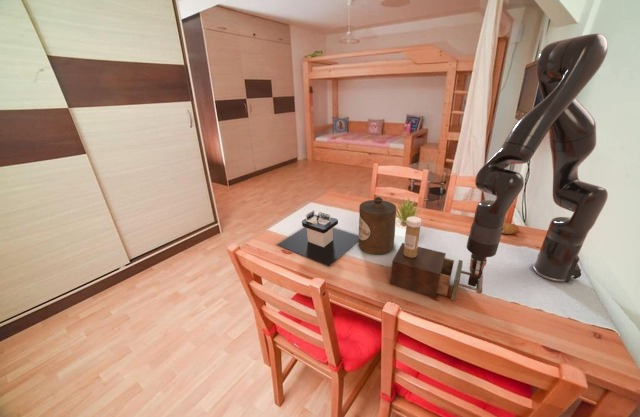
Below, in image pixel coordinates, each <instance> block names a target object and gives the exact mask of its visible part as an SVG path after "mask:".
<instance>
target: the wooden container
mask: <svg viewBox="0 0 640 417" xmlns="http://www.w3.org/2000/svg"><path fill="white" fill-rule="evenodd" d="M358 212H359V215H358V216H359V217H358V236H359V240H358V247H359V248H360V249H361V250H362V251H363V252H365V253H368V254H371V255H385V254H388V253H390V252H392V250H393V249H394V247H395V246H394V245H395V235H396V220H397V219H396V216H397V206H396V204H394V203H393V202H390V201H387V200H383V198H382V197H381V196H376V197H374V198H373V199H369V200H364V201H363V202H361V203H360V204H359V210H358Z"/></svg>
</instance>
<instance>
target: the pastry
mask: <svg viewBox="0 0 640 417" xmlns="http://www.w3.org/2000/svg"><path fill="white" fill-rule="evenodd" d="M519 229H520V228H519V226H518V225H516V224H515V223H510V222H505V221H504V223H503V227H502V235H513V234H516V233H518V232H519Z"/></svg>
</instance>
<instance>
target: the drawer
mask: <svg viewBox="0 0 640 417" xmlns="http://www.w3.org/2000/svg"><path fill="white" fill-rule="evenodd" d="M463 262H464V261H463V260H461V259H458V262H457V266H456V271H455V274H454V279H453V280H454V281H453V286H452V291H451V296H450V300H451V301H453V302H455V301H456V299H457V295H458V290H459V287H461V288H465V289H468V290H471V291H475V292H476V294H479V295H481V294H482V293H483V287H484V286H483V285H484V284H483V283H484V275H483V274H482V275H481V277H480V279H479V280H477V284H476V286H475V287H473V286H470V285H468V284H463V283H460V282H461V276H462V274H463V275H467V276H469V275H470V274H469V273H470V271H469V272H468V271H465V270H462V268H463ZM454 263H455V259H450V258H447V257H445V259H444V263H443V266H442V270H441V274H440V279H439V284H438V290H437V295H442V296H445V297H447V296H448V292H449V287H450V282H451V279H452V278H451V277H452V273H453V269H454V268H453V267H454Z"/></svg>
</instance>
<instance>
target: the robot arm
mask: <svg viewBox="0 0 640 417" xmlns="http://www.w3.org/2000/svg"><path fill="white" fill-rule="evenodd" d="M608 50H609V43H608V40H607V37H606V36H605V35H604V34H601V33H589V34H584V35H578V36H575V37H570V38H565V39H561V40H557V41H553V42H550V43H548V44H547V45H545V46H544V47H543V48H542V50H540V53H539V55H538V58H537V61H536V77H537V83H538V85H539V89H540V93H541V97H542V101H540V102H538V104H537V105H535V106H534V107H533V108H532V109H530V110H529V111H528V112H527V113H525V114H524V115H523V116H522V117H521V118H519V120H518V121H517V122H516V123H515V125H513V127H512V129H511V130H510V132H509V133H508V135H507V137H506V138H505V140H504V142H503V144H502V145H501V147H500V148H499V149H498V151H497V152H495V153H494V155H493V156H491V158H490V159H489V160H488V161H486V163H484V165H482V166H481V168H480V169H479V171H478V172H477V174H476V176H475V179H474V180H475V181H474V183H475V184H474V185H475V187H476V188H477V189H478V191H481V192H484V193H487V194H490V195H493V196H495V197H496V198H495V200H490V199H484V200H480V201H478V203H477V205H476V208H475V212H474V217H473V219H472V220H473V221H472V223H471V225H470V229H469V234H468V238H467V242H466V249H467V251H468V252H469V253H471V254H470V262H469V274H470V275H468V276H469V277H468V280H467V286H470V287H474V288H476V285H477V280H479V279H480V277H481V275H483V274H484V269H485V267H486V265H487V261H488V260H487V258H492V257H494V256H496V254H497V251H498V248H499V245H500V241H501V238H502V235H503V233H502V227H503V223H504V222H505V220H506V216H507V213H508V211H509V210H510V208H511V207H512V205H513V204H514V202H515V200H516V199H517V197H518V196H519V195H520V193H521V192H522V191H523V189H524V185H525V181H524V177H523V175H522V174H521V173H520V172H518V171H515V170H510V169H506V168H508V167H509V166H511V165H522V164H527V163H529V162H530V161H531V159H532V158H533V156H534V155H535V153H536V151H537V150H538V149H539V147H540V145H541V143H542V142H543V140H544V139H545V137H546V135H547V134H548V140H549V149H550V152H551V161H552V162H551V163H552V201H553V202H554V204H555V205H556V206H557V207H559V208H562V209H565V210H567V211H569V212H572V215H571V217H569V216H557V217H553V218H552V219H550V220H551V221H550V222H549V225H548V228H547V230H546V234H545V235H544V239H543V240H542V241H543V242H542V244H541V247H540V250H539V252H538V254H537V257H536V260H535V263H534V265H533V268H532V270H533V271H534V272H535V274H537V275H538V276H539V277H541V278H544V279H546V280H549V281H552V282H557V283H564V282H565V283H570V282H571V280H572V278H573V279H574V280H576V279H578V278H580V277H581V276H582V270H581V268H580V265H579V261H580V257H579V255H580V252H581V250H582V247H583V245H584V243H585V241H586V238H587V236H588V234H589V232H590V231H591V229H592V228H593V227H594V225H595V224H596V223H597V222H596V221H597V220H598V219H599V216H600V214H601V212H602V210H603V209H604V207H605V205H606V203H607V201H608V196H609V195H608V194H609V192H608V190H607V189H606V188H604V187H602V186H599V185H595V184H592V183H589V182H586V181H581V179H579V174H578V173H579V171H578V170H579V167H580V165H581V164H582V163H583V162H585V160H586V159H587V158H588V157H589V156H590V155H591V154H592V153H593V151H594V150H595V148H596V147H597V123H596V121H595V118H594V117H593V115H592V114H591V113H590V112H589V110H588V109H587V108H586V107H585V106H584V105H583V104H582V103H581V102H580V101H579V100H578V98H577V97H578V96H579V94H580V93H581V92H582V91H583V90H584V88H585V87H586V86H587V85H588V83H589V82H591V80H592V79H593V77H594V76H595V75H596V73H597V72H598V71H599V70H600V68H601V67H602V65H603V63H604V61H605V60H606V56H607V54H608Z"/></svg>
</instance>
